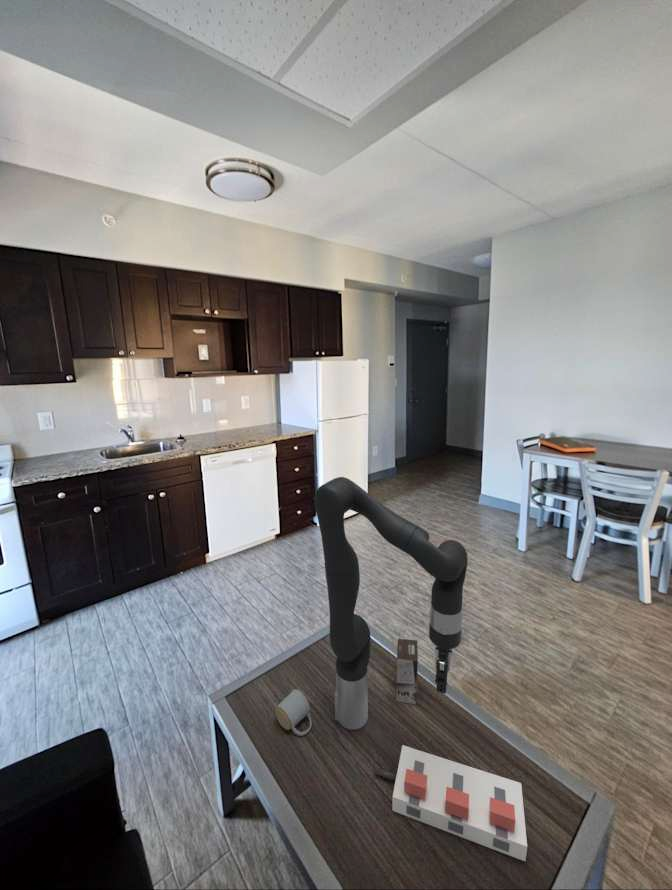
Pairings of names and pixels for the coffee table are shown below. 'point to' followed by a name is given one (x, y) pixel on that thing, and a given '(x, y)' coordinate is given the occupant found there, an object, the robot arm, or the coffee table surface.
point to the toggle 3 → (502, 814)
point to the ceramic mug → (293, 711)
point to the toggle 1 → (415, 784)
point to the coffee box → (407, 671)
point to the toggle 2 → (457, 803)
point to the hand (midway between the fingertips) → (442, 677)
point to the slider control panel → (479, 792)
